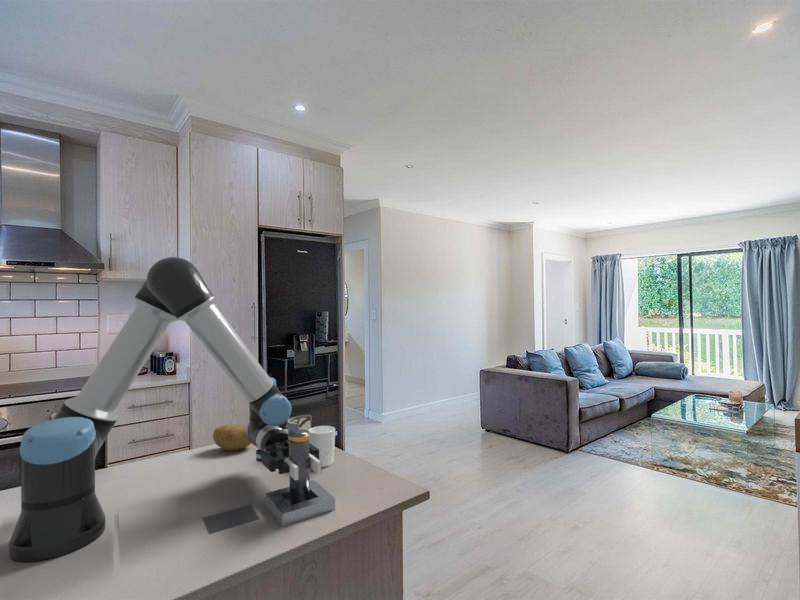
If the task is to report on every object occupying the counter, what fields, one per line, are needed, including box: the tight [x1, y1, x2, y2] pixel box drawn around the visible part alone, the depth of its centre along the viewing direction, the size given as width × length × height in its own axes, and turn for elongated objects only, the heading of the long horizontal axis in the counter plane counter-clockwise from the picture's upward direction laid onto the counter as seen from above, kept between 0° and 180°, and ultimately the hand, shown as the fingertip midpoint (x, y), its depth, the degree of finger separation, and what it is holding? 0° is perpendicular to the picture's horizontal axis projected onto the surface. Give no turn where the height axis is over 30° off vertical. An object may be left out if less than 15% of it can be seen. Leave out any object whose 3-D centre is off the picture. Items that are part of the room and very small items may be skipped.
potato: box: [212, 424, 252, 452], centre depth 137 cm, size 10×14×8 cm
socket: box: [264, 479, 336, 527], centre depth 94 cm, size 12×12×4 cm
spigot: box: [288, 430, 311, 505], centre depth 94 cm, size 5×5×16 cm
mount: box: [202, 504, 260, 535], centre depth 90 cm, size 10×8×1 cm
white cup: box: [308, 425, 336, 468], centre depth 123 cm, size 8×8×10 cm
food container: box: [285, 414, 313, 434], centre depth 135 cm, size 12×6×10 cm, turn 172°
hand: (308, 470), depth 90 cm, fingers closed on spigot, 4 cm apart
